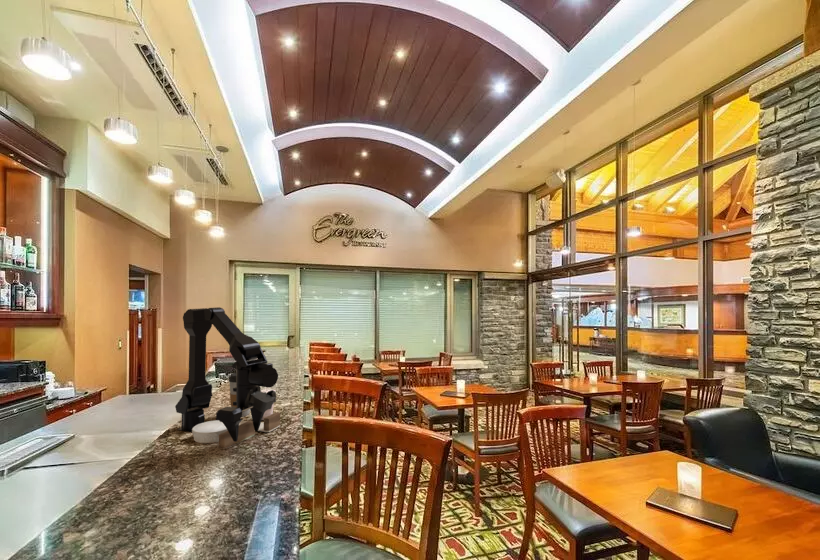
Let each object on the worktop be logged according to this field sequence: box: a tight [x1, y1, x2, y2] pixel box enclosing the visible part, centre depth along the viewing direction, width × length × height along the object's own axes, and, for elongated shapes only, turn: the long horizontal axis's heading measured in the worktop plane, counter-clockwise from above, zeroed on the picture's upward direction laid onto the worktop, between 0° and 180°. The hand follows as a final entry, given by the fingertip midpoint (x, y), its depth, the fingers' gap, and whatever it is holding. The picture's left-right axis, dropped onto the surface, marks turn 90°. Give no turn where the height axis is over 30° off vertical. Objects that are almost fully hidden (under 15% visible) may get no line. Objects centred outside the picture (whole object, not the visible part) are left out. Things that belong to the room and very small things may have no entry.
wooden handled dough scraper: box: [218, 420, 256, 449], centre depth 126 cm, size 16×13×4 cm
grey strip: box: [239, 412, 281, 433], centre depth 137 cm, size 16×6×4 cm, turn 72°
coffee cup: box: [228, 372, 251, 418], centre depth 151 cm, size 8×8×15 cm
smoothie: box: [261, 387, 277, 421], centre depth 147 cm, size 6×6×14 cm
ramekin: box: [191, 419, 228, 444], centre depth 126 cm, size 11×11×5 cm
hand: (246, 435), depth 123 cm, fingers open, 9 cm apart
